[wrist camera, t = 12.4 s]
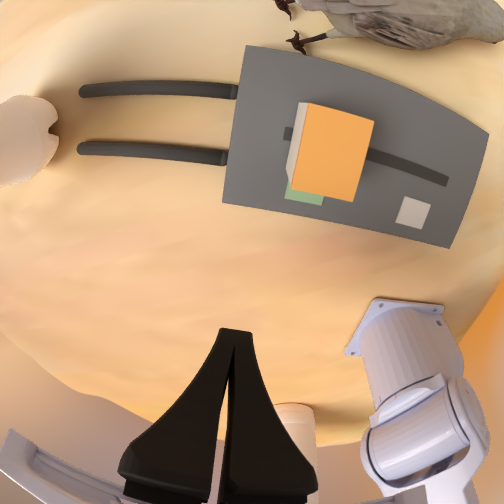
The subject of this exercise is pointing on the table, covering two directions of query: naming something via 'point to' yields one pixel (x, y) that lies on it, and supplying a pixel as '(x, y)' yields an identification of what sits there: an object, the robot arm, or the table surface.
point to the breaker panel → (377, 157)
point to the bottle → (301, 434)
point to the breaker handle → (327, 151)
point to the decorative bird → (406, 21)
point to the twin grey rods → (154, 149)
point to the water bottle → (25, 138)
